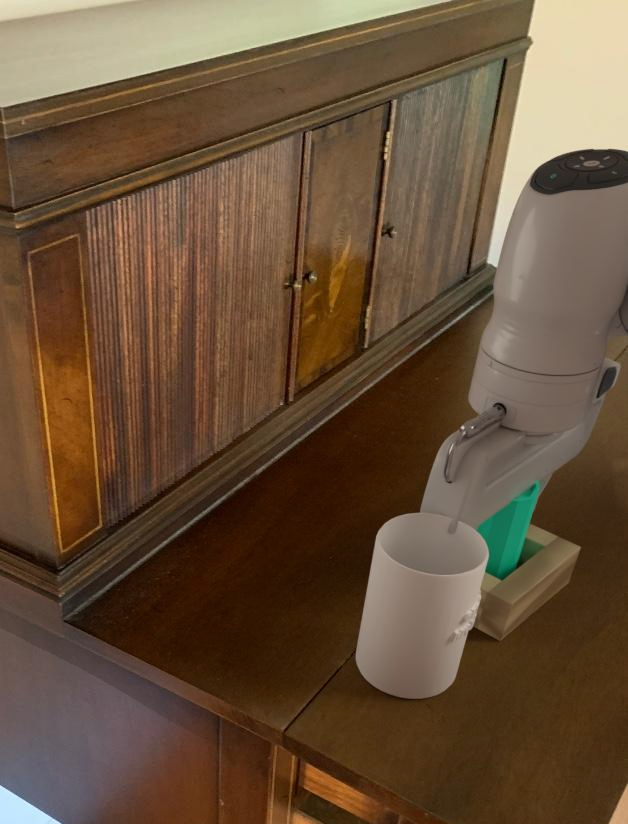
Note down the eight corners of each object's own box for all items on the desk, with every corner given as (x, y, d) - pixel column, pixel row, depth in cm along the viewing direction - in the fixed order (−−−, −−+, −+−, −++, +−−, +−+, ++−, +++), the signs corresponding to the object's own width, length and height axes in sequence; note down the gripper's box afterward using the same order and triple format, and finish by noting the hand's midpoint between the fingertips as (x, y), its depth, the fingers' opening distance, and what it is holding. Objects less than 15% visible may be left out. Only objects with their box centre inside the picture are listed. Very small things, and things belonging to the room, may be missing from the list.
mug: (465, 613, 79) (497, 495, 71) (455, 710, 70) (491, 586, 62) (368, 595, 80) (389, 478, 73) (348, 687, 72) (369, 564, 64)
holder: (568, 583, 82) (581, 546, 79) (500, 641, 76) (511, 604, 73) (459, 529, 88) (467, 494, 86) (387, 579, 82) (394, 543, 80)
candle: (493, 557, 85) (525, 442, 77) (521, 597, 80) (558, 480, 73) (431, 562, 84) (457, 448, 76) (456, 604, 80) (487, 486, 72)
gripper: (494, 448, 63) (454, 604, 71) (632, 360, 74) (582, 504, 82) (417, 415, 66) (388, 568, 75) (559, 336, 77) (519, 477, 86)
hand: (491, 534), depth 79 cm, fingers open, 8 cm apart
